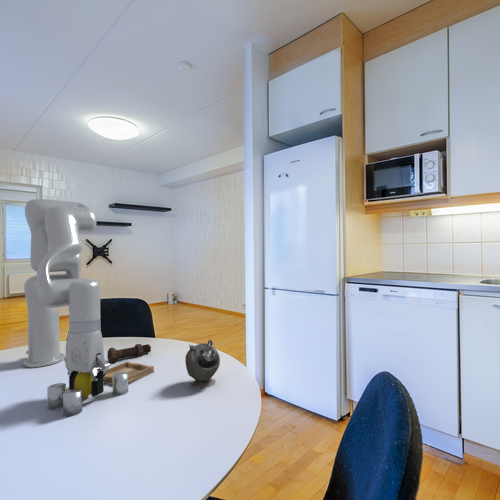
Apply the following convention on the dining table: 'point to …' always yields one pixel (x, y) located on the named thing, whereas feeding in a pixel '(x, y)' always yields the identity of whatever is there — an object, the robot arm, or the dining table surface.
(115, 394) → the cylinder
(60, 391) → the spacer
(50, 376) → the dining table surface
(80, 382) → the lemon
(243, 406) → the dining table surface
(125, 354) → the bolt
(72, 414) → the cylinder
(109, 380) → the tray
